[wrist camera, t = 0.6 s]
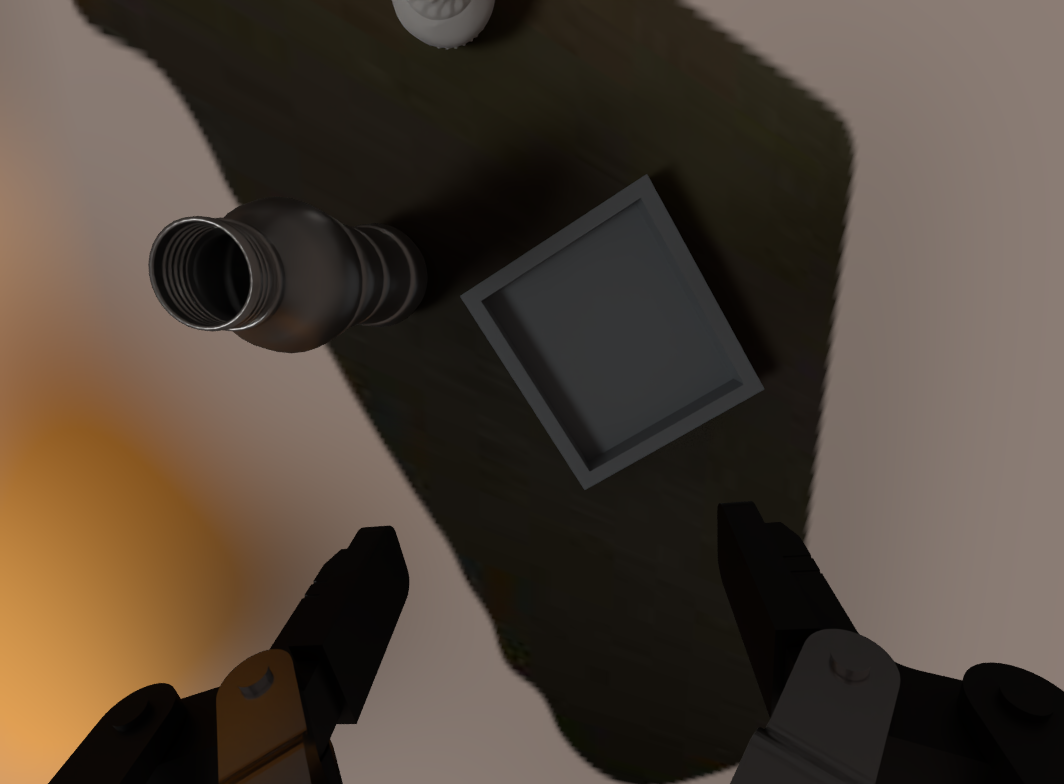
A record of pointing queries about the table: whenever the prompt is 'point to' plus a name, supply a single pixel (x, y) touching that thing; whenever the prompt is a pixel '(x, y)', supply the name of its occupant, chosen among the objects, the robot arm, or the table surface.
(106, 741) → the robot arm
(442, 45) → the muffin
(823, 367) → the table surface
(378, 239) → the plastic bottle
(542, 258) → the tray
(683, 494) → the table surface
